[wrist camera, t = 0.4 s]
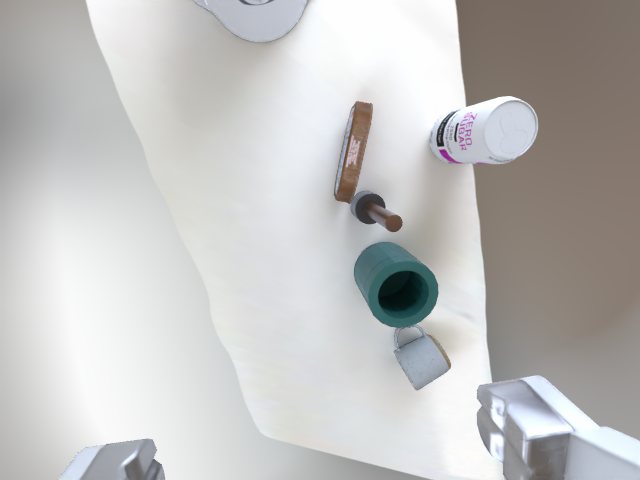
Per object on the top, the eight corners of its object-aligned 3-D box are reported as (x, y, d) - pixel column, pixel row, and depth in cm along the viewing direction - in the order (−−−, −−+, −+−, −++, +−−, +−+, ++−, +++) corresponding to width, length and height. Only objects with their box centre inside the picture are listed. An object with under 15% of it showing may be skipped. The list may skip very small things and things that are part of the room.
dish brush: (348, 193, 54) (372, 207, 39) (377, 188, 55) (411, 200, 39) (352, 221, 56) (376, 245, 40) (380, 217, 56) (414, 239, 40)
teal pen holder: (350, 247, 57) (364, 267, 46) (409, 237, 57) (436, 255, 47) (357, 302, 59) (372, 333, 49) (413, 292, 60) (440, 320, 49)
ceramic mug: (440, 353, 64) (460, 378, 56) (405, 372, 64) (419, 400, 57) (418, 312, 61) (436, 332, 54) (381, 332, 62) (393, 355, 54)
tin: (346, 200, 55) (356, 207, 46) (328, 197, 54) (335, 203, 46) (366, 108, 51) (380, 99, 43) (347, 104, 51) (358, 93, 43)
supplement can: (480, 149, 54) (550, 145, 40) (437, 171, 55) (490, 175, 40) (466, 103, 52) (533, 81, 38) (420, 126, 53) (470, 113, 38)
